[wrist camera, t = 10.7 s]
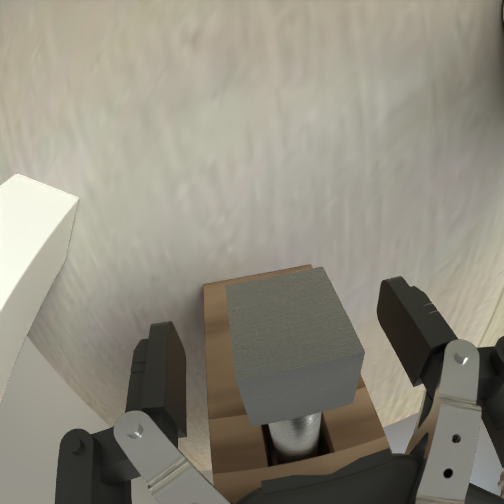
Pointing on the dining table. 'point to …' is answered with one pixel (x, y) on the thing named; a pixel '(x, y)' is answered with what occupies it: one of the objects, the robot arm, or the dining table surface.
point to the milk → (28, 257)
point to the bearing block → (259, 437)
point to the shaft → (292, 356)
